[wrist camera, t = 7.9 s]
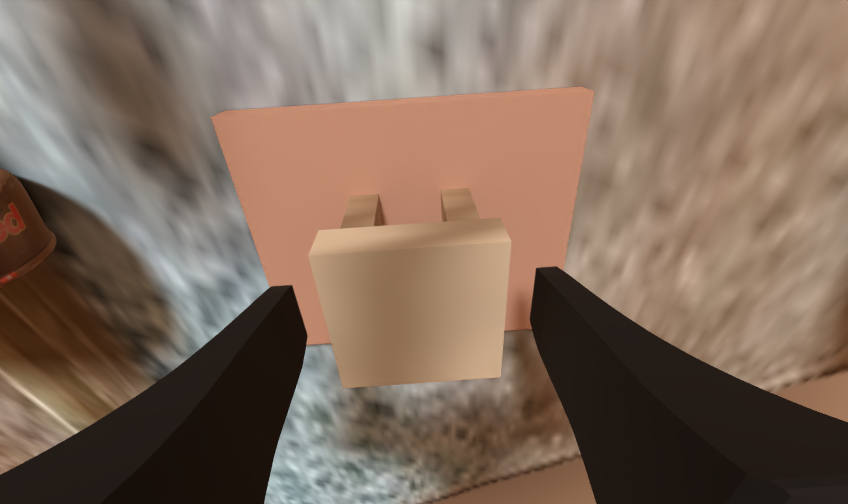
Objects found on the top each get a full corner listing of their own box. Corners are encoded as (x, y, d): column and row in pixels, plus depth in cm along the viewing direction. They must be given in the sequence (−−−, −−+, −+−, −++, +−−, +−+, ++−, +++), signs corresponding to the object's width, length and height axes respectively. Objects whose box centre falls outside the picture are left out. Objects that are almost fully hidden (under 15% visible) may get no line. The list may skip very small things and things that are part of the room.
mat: (581, 86, 12) (594, 91, 12) (546, 312, 18) (553, 327, 17) (224, 111, 12) (211, 117, 12) (295, 330, 18) (290, 346, 17)
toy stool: (480, 176, 13) (511, 241, 9) (477, 289, 16) (500, 377, 12) (336, 186, 13) (308, 255, 9) (358, 298, 16) (343, 388, 12)
